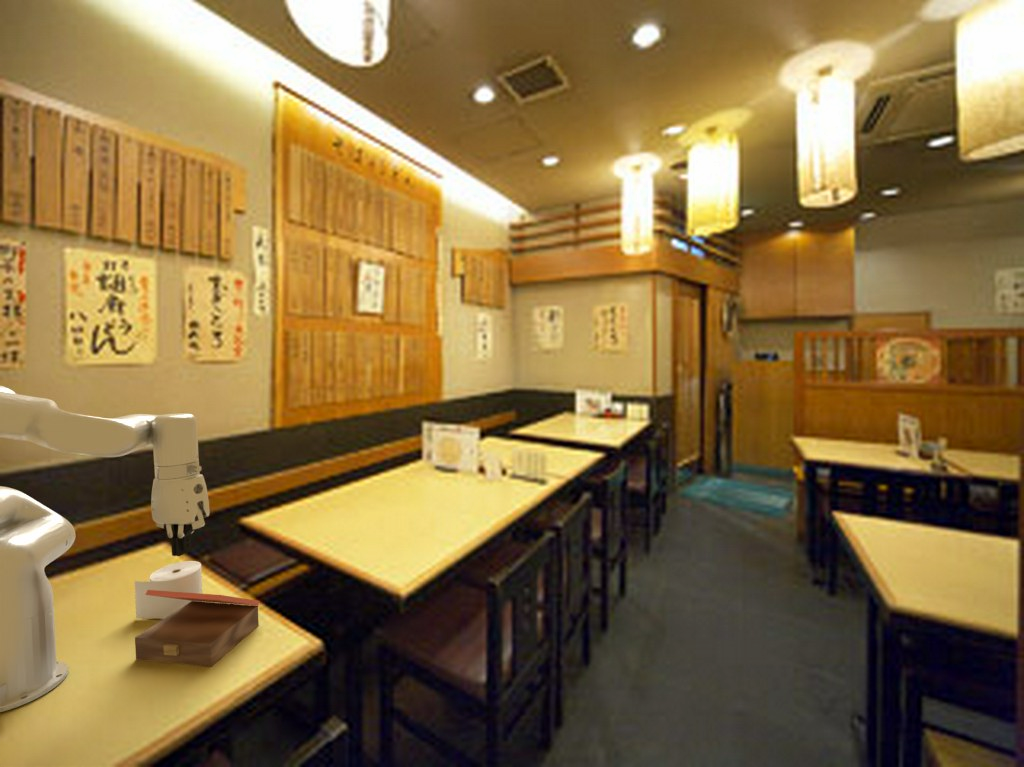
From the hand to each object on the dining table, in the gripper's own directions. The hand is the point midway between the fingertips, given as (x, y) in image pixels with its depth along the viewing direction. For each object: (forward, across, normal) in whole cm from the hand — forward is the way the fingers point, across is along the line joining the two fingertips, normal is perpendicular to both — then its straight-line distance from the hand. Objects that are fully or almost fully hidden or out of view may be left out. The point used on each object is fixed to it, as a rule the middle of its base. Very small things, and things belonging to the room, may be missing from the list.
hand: (182, 553), depth 91 cm
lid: (+14, +1, -6) cm, 15 cm away
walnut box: (+23, +1, -4) cm, 23 cm away
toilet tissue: (+23, +19, -15) cm, 33 cm away
